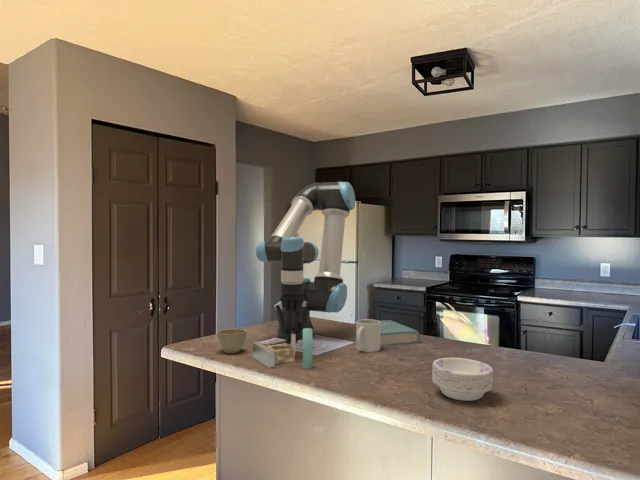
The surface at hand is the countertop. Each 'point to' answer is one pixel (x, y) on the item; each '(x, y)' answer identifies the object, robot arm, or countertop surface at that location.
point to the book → (397, 333)
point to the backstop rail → (264, 354)
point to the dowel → (307, 348)
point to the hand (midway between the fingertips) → (291, 353)
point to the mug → (368, 335)
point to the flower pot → (232, 339)
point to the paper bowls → (462, 378)
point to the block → (283, 353)
